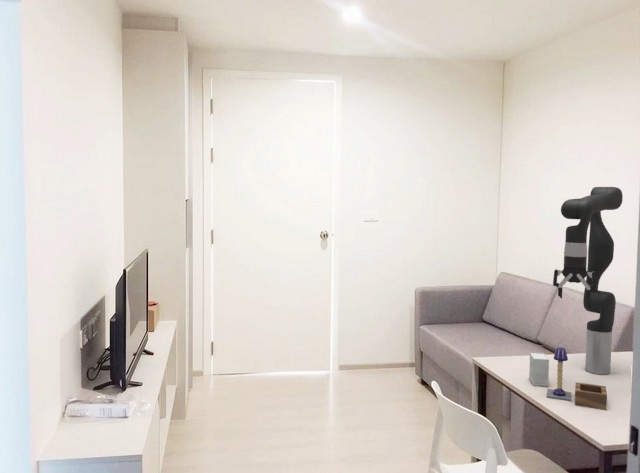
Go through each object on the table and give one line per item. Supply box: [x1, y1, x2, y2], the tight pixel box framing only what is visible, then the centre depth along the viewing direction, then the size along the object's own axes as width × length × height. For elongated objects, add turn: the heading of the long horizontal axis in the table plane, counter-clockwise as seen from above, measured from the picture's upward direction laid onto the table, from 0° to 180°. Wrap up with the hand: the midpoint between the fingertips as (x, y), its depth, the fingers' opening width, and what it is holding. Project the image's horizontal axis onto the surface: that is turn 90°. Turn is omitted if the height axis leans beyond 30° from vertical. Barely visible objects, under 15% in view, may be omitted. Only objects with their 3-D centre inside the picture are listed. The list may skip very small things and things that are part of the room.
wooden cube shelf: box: [574, 381, 608, 411], centre depth 189 cm, size 10×10×5 cm
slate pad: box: [546, 388, 572, 402], centre depth 195 cm, size 8×8×1 cm
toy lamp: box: [553, 347, 569, 396], centre depth 195 cm, size 5×5×17 cm
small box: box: [528, 352, 550, 387], centre depth 208 cm, size 8×6×10 cm
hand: (573, 298), depth 199 cm, fingers open, 8 cm apart
